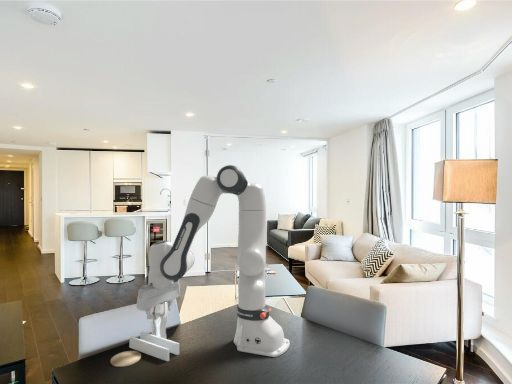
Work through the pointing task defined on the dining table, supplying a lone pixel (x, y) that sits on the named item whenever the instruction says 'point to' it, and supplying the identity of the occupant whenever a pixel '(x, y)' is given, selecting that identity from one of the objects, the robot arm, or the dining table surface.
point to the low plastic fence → (154, 345)
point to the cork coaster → (125, 358)
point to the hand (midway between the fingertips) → (159, 314)
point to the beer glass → (159, 319)
